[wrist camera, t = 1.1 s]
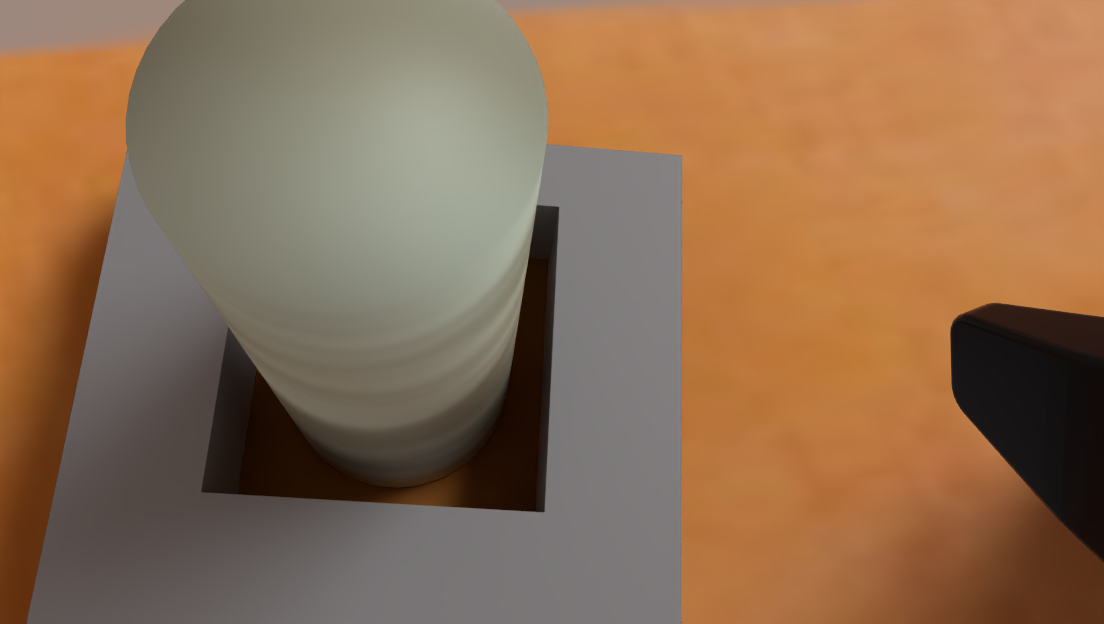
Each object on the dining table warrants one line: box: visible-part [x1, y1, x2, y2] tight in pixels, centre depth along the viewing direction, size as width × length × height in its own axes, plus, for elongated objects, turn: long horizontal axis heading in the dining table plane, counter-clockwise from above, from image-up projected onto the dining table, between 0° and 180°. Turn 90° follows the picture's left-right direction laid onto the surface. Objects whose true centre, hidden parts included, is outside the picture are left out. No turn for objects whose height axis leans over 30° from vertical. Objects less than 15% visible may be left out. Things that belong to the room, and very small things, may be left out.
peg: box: [126, 0, 548, 487], centre depth 18 cm, size 5×5×12 cm
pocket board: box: [26, 144, 682, 624], centre depth 21 cm, size 16×12×3 cm
